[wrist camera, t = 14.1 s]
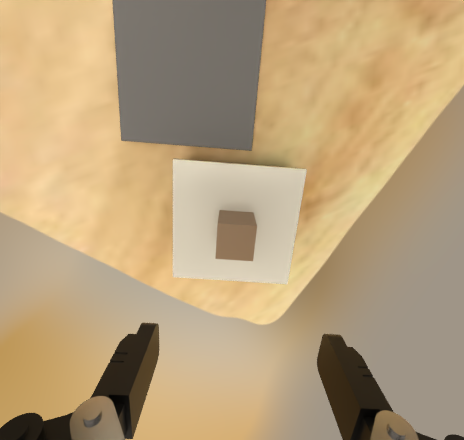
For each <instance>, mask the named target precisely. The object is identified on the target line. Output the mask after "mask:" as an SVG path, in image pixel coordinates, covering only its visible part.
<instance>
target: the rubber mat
mask: <svg viewBox="0 0 464 440" xmlns="http://www.w3.org/2000/svg"><path fill="white" fill-rule="evenodd" d="M265 7H266V0H113V14H114V30H115V46H116V62H117V78H118V95H119V111H120V127H121V141H134V142H146V143H159V144H172V145H185V146H198V147H210V148H223V149H236V150H249V151H252V141H253V130H254V120H255V110H256V100H257V89H258V79H259V69H260V59H261V48H262V38H263V28H264V17H265Z"/></svg>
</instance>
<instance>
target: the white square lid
mask: <svg viewBox="0 0 464 440" xmlns="http://www.w3.org/2000/svg"><path fill="white" fill-rule="evenodd" d="M306 172H307V169H304V168H291V167H278V166H265V165H251V164H238V163H225V162H212V161H199V160H186V159H173V277H181V278H197V279H213V280H228V281H244V282H260V283H276V284H288V278H289V272H290V266H291V260H292V254H293V248H294V242H295V237H296V231H297V225H298V219H299V213H300V207H301V201H302V195H303V189H304V183H305V177H306Z"/></svg>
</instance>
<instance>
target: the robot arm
mask: <svg viewBox="0 0 464 440" xmlns="http://www.w3.org/2000/svg"><path fill="white" fill-rule="evenodd" d="M158 355H159V326H158V324H155V323H142V324H141V325H140V328H139V330H138V332H137V334H128V335H127V336H126V337H125V338H124V339H123V340H122V341H121V342H120V343H119V345H118V347H117V349H116V350H115V353H114V354H113V356H112V358H111V360H110V363H109V364H108V366H107V368H106V370H105V372H104V373H103V375H102V377H101V379H100V381H99V383H98V385H97V387H96V389H95V391H94V393H93V395H92V396H91V398H90V399H88V400H86V401H85V402H83V403H82V404H81V405H80V406H79V407H78V408H77V409H76V410H75V411H74V412H73V413H70V414H68V415H65V416H61V417H58V418H54V419H51V420H47V421H43V419H42V417H41V416H40V415H38V414H36V413H26V414H22V415H20V416H17V417H15V418H13V419H12V420H10V421H9V422H7V423H6V424H5V425H3V426H2V427H1V428H0V440H125V439H133V436H134V433H135V430H136V427H137V424H138V421H139V417H140V414H141V411H142V408H143V405H144V402H145V399H146V395H147V392H148V389H149V386H150V383H151V380H152V377H153V373H154V370H155V367H156V364H157V360H158ZM317 366H318V371H319V374H320V377H321V380H322V383H323V386H324V388H325V391H326V394H327V397H328V400H329V402H330V405H331V408H332V411H333V414H334V416H335V419H336V422H337V424H338V427H339V430H340V433H341V436H342V438H343V440H436V439H433V438H430V437H428V436H425V435H422V434H420V433H417V432H415V430H414V429H413V427H412V426H411V425H410V424H409V423H408V422H407V421H406V420H405V419H404V418H402V417H401V416H400V415H398V414H396V413H394V412H393V410H392V408H391V407H390V405H389V403H388V402H387V400H386V398H385V396H384V394H383V393H382V391H381V389H380V387H379V386H378V384H377V382H376V381H375V379H374V378H373V375H372V374H371V372H370V370H369V369H368V367H367V365H366V363H365V361H364V359H363V358H362V356H361V355H360V354H359V353H358V352H357V351H356V350H355V349H354V348H353V347H347V346H346V344H345V342H344V340H343V338H342V337H341V335H334V334H333V335H332V334H324V335H323V337H322V341H321V345H320V349H319V353H318V358H317ZM444 440H464V437H462V436H459V435H448V436H446V438H445V439H444Z"/></svg>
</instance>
